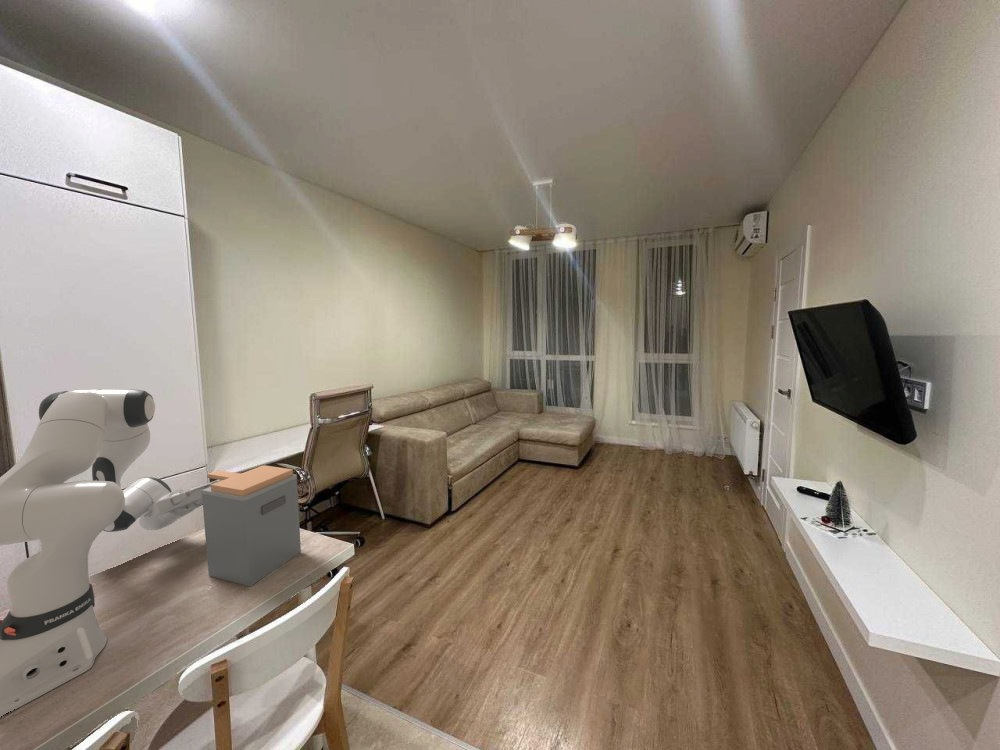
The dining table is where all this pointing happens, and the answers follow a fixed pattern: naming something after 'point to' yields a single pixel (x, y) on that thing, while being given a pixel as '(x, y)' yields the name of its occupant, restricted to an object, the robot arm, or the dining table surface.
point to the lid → (247, 479)
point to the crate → (251, 531)
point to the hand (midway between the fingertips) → (203, 488)
